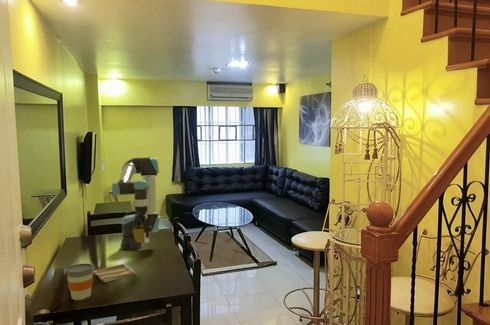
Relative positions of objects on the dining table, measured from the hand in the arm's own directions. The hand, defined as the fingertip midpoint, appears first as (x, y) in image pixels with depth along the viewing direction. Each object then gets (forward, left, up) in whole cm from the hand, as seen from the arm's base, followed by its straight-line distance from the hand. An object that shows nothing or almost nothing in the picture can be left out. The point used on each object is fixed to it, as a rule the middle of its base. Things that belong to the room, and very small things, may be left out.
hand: (142, 240), depth 236 cm
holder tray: (+1, -18, -16) cm, 25 cm away
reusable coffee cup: (+20, -42, -16) cm, 50 cm away
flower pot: (0, 0, -1) cm, 1 cm away
